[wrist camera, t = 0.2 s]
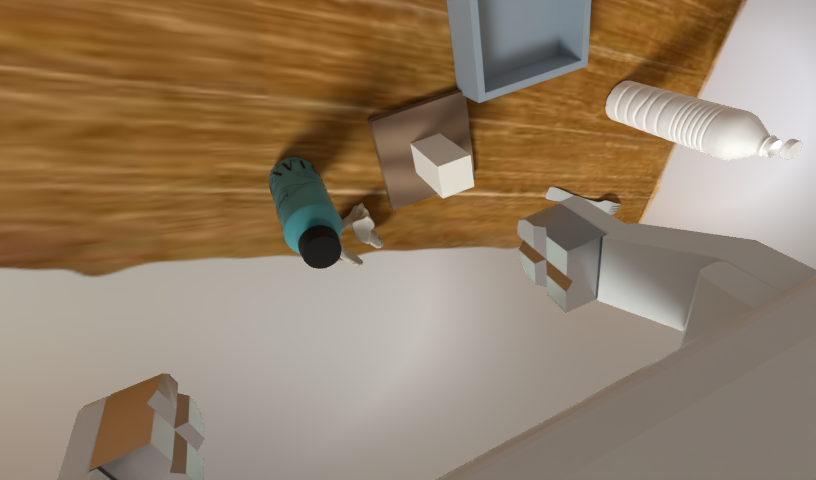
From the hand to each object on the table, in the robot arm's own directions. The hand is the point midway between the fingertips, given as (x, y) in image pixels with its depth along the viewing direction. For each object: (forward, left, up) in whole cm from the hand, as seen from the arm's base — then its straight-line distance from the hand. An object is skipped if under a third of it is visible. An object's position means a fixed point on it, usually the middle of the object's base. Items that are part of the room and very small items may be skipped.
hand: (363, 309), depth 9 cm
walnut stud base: (+20, +19, -48) cm, 55 cm away
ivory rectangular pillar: (+20, +19, -46) cm, 54 cm away
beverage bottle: (+17, 0, -48) cm, 51 cm away
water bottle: (+24, +56, -48) cm, 77 cm away
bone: (+27, +6, -48) cm, 55 cm away
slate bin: (+5, +34, -48) cm, 59 cm away
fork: (+41, +49, -48) cm, 80 cm away
